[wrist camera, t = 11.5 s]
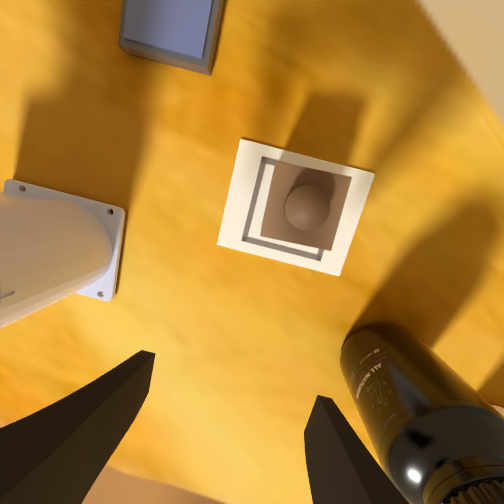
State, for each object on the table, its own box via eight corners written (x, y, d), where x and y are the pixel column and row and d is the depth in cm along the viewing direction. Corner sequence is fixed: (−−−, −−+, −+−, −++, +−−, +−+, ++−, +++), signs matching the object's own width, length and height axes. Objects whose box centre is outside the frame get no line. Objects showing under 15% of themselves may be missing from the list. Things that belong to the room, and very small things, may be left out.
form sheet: (217, 244, 19) (216, 244, 19) (240, 139, 17) (240, 138, 17) (338, 275, 19) (339, 276, 19) (374, 173, 17) (375, 173, 17)
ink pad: (126, 53, 16) (116, 42, 15) (139, -52, 15) (128, -73, 14) (210, 75, 16) (206, 65, 15) (230, -29, 15) (227, -48, 14)
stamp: (261, 226, 18) (259, 239, 12) (272, 172, 17) (276, 157, 11) (312, 236, 18) (336, 255, 12) (326, 183, 17) (359, 174, 11)
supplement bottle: (332, 325, 20) (428, 504, 8) (418, 314, 19) (653, 489, 8) (341, 395, 21) (434, 632, 10) (421, 386, 21) (625, 629, 9)
